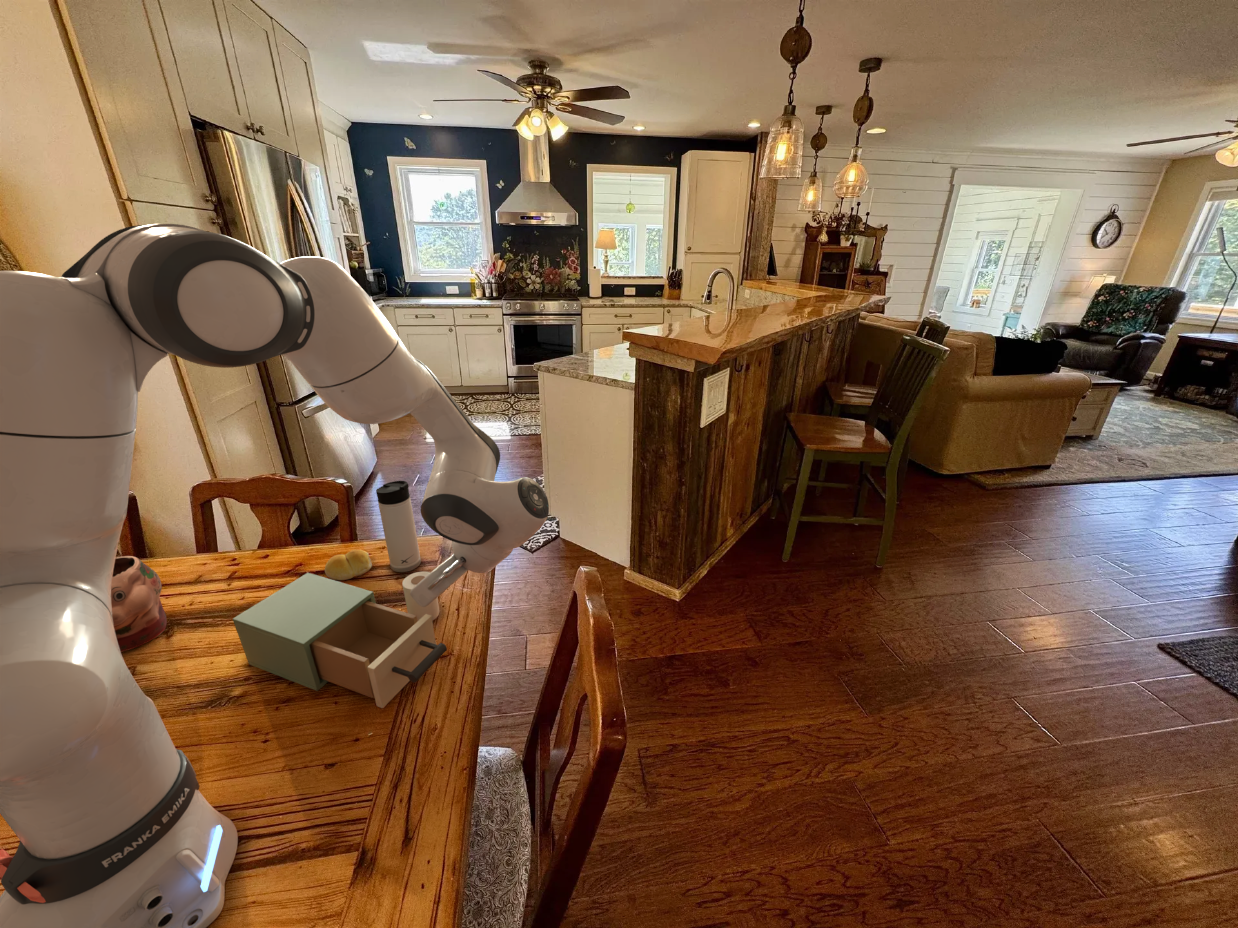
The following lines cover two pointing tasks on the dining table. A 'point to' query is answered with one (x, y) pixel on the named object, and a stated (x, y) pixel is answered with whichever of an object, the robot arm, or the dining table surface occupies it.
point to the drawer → (376, 651)
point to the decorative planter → (136, 603)
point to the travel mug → (399, 526)
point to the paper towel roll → (412, 604)
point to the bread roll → (348, 565)
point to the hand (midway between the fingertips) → (440, 580)
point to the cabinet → (296, 625)
